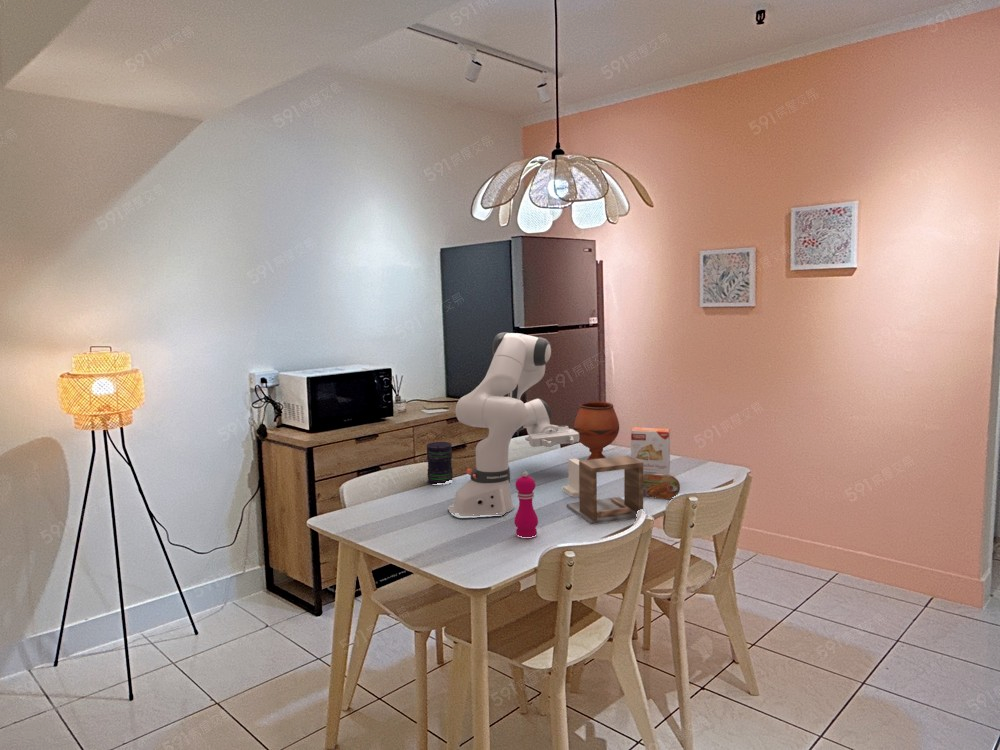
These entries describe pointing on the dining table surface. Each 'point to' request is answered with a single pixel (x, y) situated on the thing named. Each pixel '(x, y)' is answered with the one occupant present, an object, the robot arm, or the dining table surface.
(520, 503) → the pepper mill
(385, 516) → the dining table surface
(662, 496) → the tin
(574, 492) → the tall narrow cream block
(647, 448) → the cracker box
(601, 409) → the goblet
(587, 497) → the frame
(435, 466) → the storage jar
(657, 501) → the dining table surface
